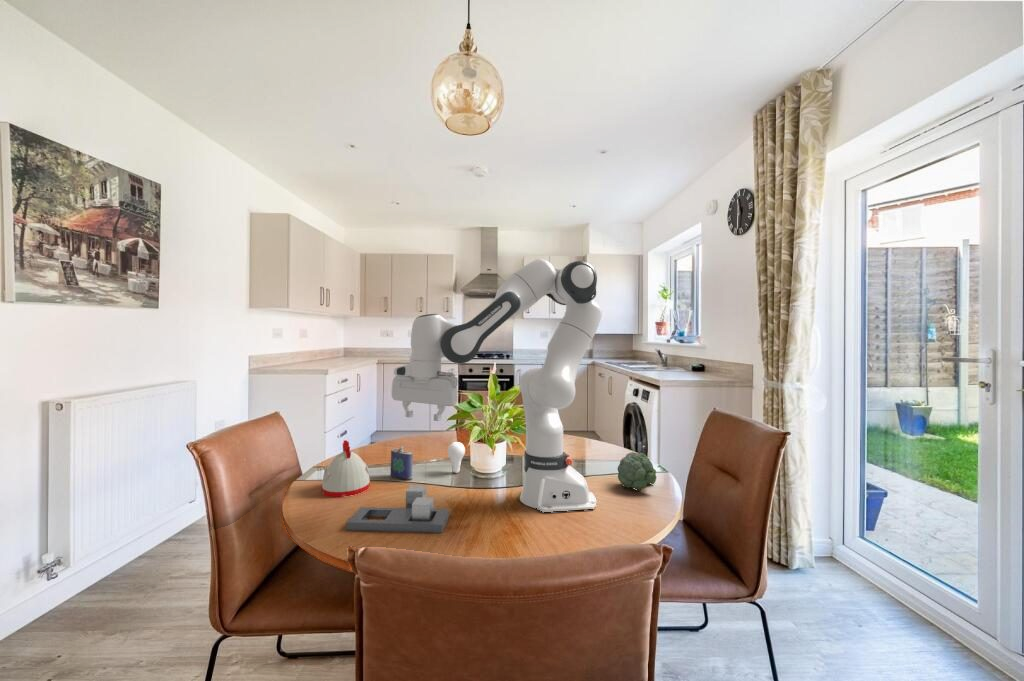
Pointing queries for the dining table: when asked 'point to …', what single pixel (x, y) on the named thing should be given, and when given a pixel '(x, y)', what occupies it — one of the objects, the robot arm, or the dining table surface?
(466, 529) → the dining table surface
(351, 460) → the chicken hat
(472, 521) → the dining table surface
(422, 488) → the grey rectangular block
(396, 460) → the flask
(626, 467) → the vegetable
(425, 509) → the light gray block
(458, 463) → the lightbulb
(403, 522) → the grey slotted board
